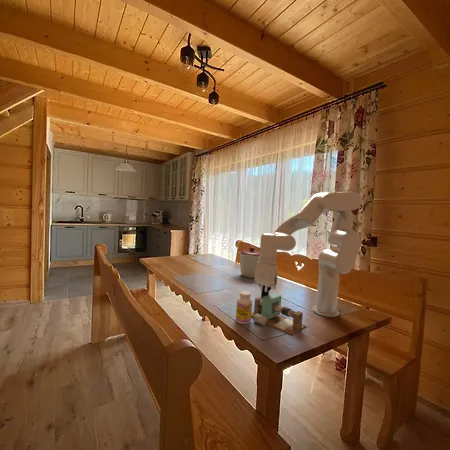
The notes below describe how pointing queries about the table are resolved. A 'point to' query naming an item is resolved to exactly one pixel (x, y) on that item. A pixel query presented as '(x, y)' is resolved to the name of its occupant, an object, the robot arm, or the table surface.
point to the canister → (249, 262)
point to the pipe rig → (281, 318)
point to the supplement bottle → (244, 308)
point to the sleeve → (260, 319)
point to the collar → (270, 305)
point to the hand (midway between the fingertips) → (264, 298)
